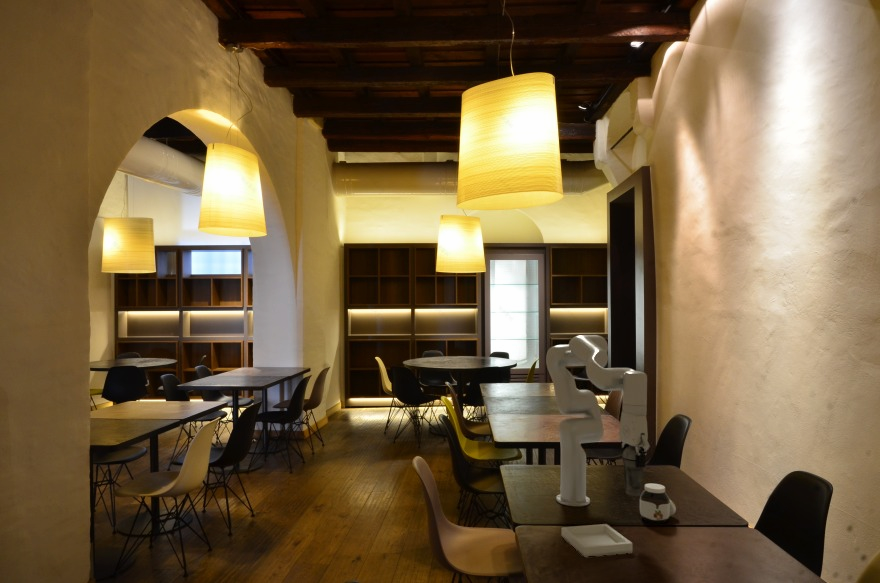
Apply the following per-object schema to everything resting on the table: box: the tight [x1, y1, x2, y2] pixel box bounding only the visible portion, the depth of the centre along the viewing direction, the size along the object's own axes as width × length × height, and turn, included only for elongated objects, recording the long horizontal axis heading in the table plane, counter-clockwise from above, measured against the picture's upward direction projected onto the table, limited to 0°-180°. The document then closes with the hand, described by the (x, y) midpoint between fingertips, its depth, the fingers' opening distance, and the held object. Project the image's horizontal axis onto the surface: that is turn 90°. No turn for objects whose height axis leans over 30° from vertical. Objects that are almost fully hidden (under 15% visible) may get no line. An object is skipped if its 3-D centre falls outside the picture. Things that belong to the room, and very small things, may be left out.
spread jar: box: [639, 482, 677, 524], centre depth 212 cm, size 12×11×12 cm
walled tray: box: [561, 523, 634, 558], centre depth 188 cm, size 16×16×3 cm
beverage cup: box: [621, 446, 644, 497], centre depth 195 cm, size 7×7×20 cm
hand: (633, 463), depth 195 cm, fingers closed on beverage cup, 7 cm apart
